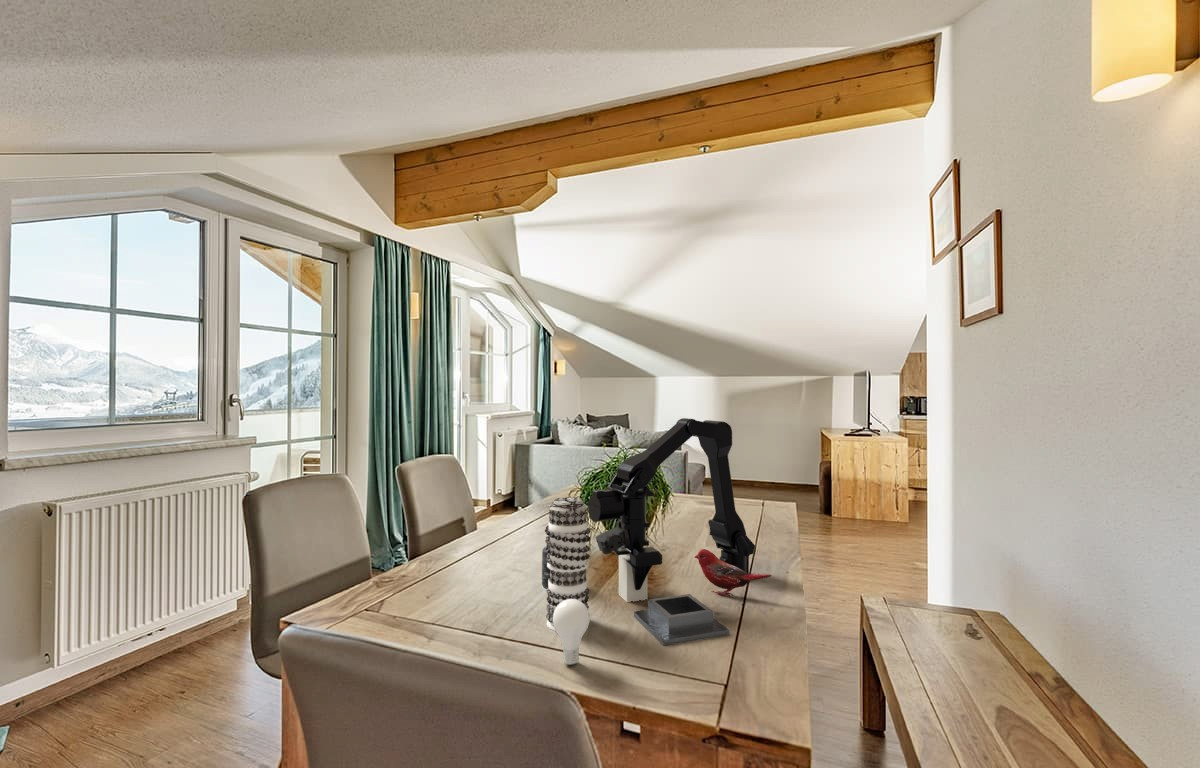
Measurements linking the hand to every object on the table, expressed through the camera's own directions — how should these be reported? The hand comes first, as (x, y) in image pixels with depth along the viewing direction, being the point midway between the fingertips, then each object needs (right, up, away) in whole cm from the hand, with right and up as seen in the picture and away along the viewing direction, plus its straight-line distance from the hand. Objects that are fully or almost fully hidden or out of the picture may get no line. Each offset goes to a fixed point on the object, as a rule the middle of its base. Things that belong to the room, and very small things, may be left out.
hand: (632, 585), depth 127 cm
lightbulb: (-12, -3, -31) cm, 33 cm away
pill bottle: (-18, -3, +7) cm, 20 cm away
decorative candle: (-14, -3, -14) cm, 20 cm away
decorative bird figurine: (+23, -3, 0) cm, 23 cm away
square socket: (+9, -3, -15) cm, 17 cm away
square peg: (0, -3, 0) cm, 3 cm away
